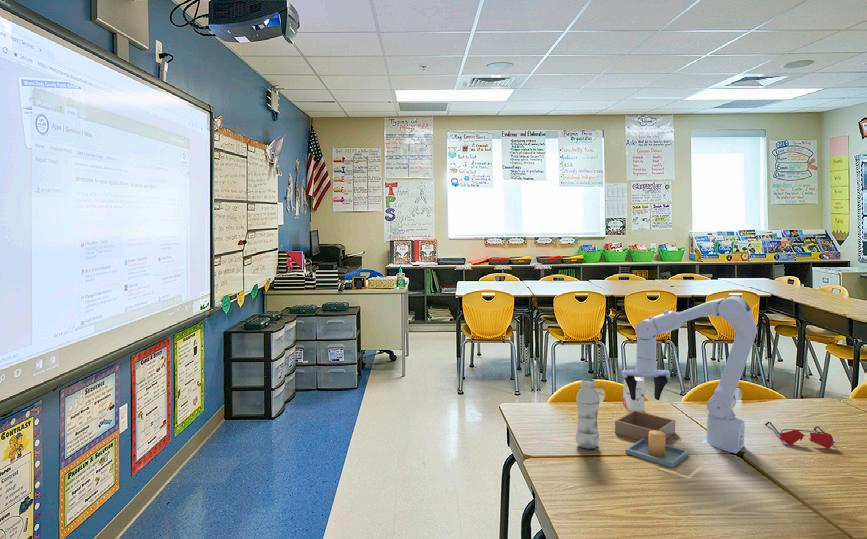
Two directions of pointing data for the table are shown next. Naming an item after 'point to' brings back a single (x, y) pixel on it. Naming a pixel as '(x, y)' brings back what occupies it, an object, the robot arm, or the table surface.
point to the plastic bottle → (587, 415)
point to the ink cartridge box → (640, 392)
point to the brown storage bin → (643, 425)
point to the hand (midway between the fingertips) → (644, 399)
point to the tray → (670, 458)
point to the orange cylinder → (656, 443)
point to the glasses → (795, 435)
